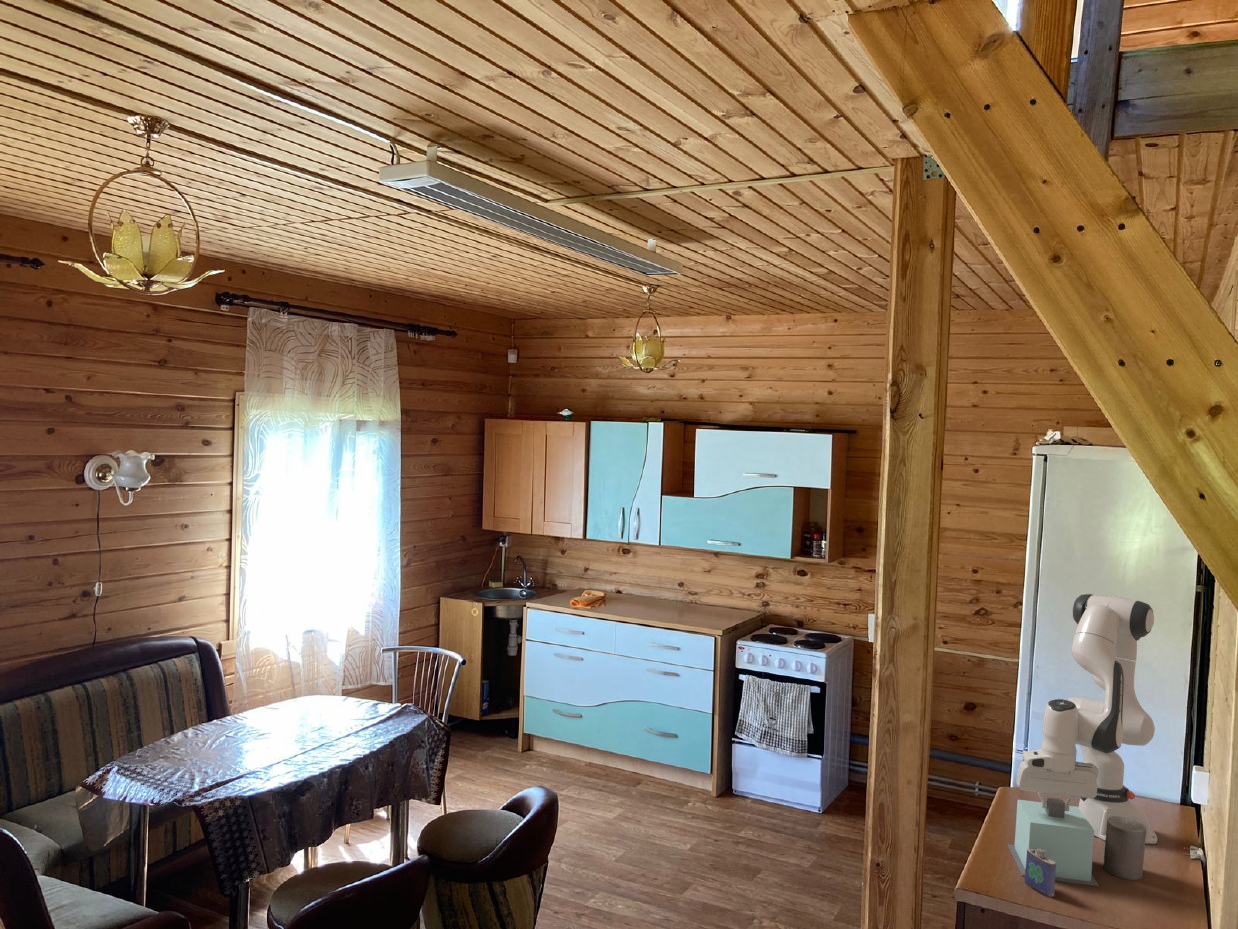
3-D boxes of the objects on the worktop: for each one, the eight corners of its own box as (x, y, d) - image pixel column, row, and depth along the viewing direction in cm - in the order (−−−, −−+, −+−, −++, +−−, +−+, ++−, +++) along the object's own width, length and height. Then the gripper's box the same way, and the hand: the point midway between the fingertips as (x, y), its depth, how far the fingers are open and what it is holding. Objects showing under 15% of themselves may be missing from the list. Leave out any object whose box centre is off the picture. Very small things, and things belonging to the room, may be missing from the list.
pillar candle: (1094, 865, 259) (1099, 813, 258) (1121, 861, 262) (1125, 809, 261) (1124, 882, 249) (1129, 828, 249) (1151, 878, 253) (1155, 824, 252)
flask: (1056, 897, 239) (1058, 856, 239) (1047, 899, 238) (1050, 858, 238) (1029, 880, 248) (1031, 841, 248) (1020, 881, 247) (1023, 842, 247)
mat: (1078, 855, 265) (1078, 853, 265) (1098, 886, 246) (1098, 885, 246) (1007, 845, 269) (1007, 844, 269) (1022, 876, 250) (1022, 875, 250)
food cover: (1074, 855, 264) (1078, 793, 263) (1090, 881, 248) (1095, 815, 247) (1014, 847, 267) (1018, 786, 266) (1027, 873, 251) (1031, 808, 251)
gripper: (1095, 760, 257) (1092, 809, 258) (1016, 751, 261) (1013, 800, 262) (1102, 768, 251) (1098, 818, 252) (1021, 759, 255) (1018, 808, 256)
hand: (1054, 809), depth 257 cm, fingers closed on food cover, 4 cm apart
